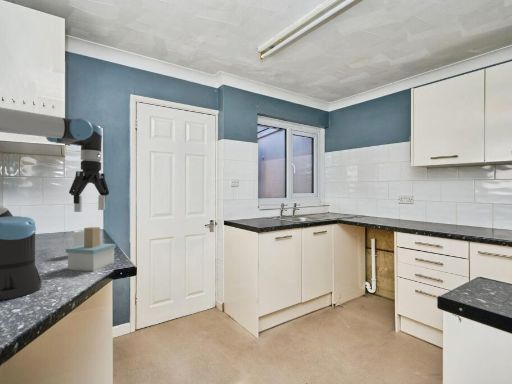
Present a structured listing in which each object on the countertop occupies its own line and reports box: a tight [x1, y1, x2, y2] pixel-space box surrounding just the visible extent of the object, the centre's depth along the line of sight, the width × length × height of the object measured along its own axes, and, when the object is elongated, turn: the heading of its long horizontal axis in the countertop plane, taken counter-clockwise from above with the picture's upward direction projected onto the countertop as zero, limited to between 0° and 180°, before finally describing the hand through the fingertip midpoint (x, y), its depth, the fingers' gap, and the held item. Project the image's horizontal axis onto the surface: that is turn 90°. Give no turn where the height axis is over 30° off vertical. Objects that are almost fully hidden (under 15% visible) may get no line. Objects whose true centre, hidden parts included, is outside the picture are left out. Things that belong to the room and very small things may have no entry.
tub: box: [67, 248, 115, 272], centre depth 118 cm, size 12×12×7 cm
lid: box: [65, 226, 117, 254], centre depth 118 cm, size 13×13×10 cm
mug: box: [64, 229, 84, 249], centre depth 139 cm, size 12×8×12 cm
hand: (90, 210), depth 118 cm, fingers open, 13 cm apart
